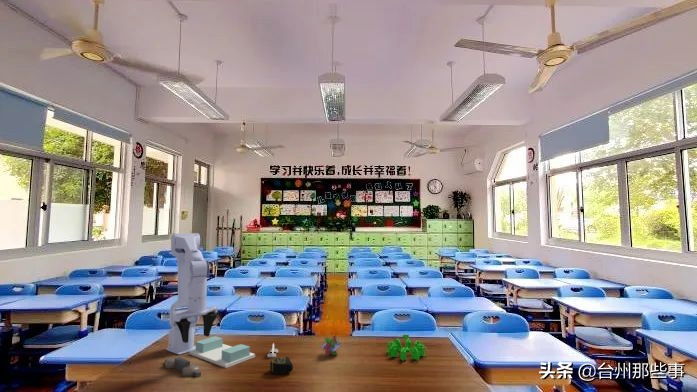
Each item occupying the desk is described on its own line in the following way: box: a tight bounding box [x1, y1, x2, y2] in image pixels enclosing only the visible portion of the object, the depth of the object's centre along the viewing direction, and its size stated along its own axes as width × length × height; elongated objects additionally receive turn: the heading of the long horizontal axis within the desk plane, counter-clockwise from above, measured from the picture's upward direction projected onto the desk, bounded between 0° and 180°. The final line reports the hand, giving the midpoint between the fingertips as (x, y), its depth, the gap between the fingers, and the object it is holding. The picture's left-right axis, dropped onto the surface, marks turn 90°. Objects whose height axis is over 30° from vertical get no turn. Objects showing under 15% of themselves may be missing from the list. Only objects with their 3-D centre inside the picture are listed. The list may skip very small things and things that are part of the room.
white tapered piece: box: [267, 342, 279, 358], centre depth 126 cm, size 15×7×4 cm, turn 3°
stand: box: [189, 335, 256, 369], centre depth 129 cm, size 22×12×4 cm, turn 54°
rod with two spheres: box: [164, 356, 202, 378], centre depth 117 cm, size 20×5×3 cm, turn 54°
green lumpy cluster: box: [385, 334, 428, 362], centre depth 129 cm, size 15×15×7 cm
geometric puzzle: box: [320, 335, 342, 358], centre depth 129 cm, size 7×7×8 cm
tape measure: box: [269, 356, 294, 375], centre depth 115 cm, size 7×7×4 cm
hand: (196, 338), depth 118 cm, fingers open, 7 cm apart
